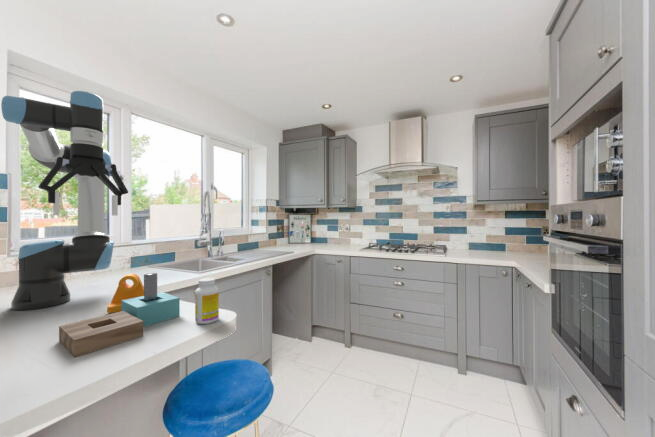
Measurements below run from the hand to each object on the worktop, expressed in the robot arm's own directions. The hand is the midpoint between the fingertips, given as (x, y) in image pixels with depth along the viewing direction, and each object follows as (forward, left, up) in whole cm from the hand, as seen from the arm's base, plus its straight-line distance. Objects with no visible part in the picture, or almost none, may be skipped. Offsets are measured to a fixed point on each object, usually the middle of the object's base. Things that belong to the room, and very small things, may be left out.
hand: (87, 215), depth 82 cm
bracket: (-4, +12, -33) cm, 35 cm away
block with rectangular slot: (+11, +13, -33) cm, 37 cm away
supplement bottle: (+28, +22, -33) cm, 48 cm away
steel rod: (+11, +13, -33) cm, 37 cm away
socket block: (+17, -1, -33) cm, 37 cm away
